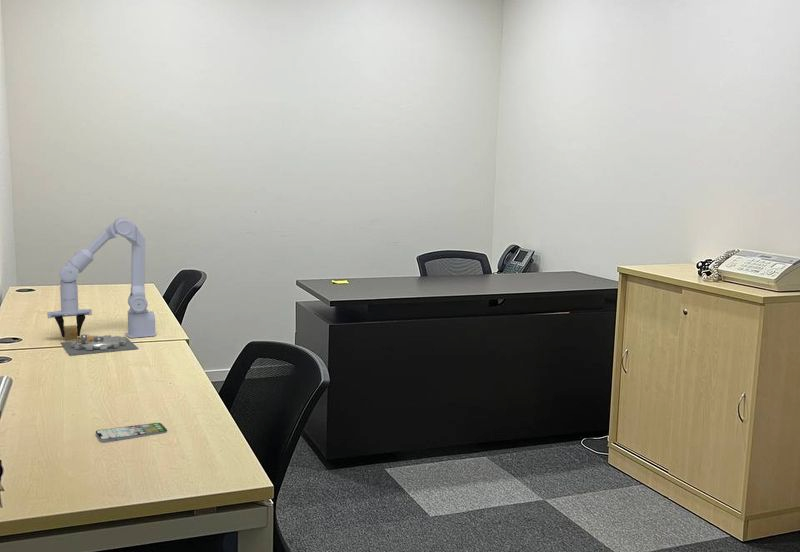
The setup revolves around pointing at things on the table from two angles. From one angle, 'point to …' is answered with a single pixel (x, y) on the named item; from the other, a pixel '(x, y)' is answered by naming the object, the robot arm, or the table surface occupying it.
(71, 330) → the brushed gold block
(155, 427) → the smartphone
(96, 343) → the sprocket
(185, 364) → the table surface
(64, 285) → the robot arm
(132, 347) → the plate
